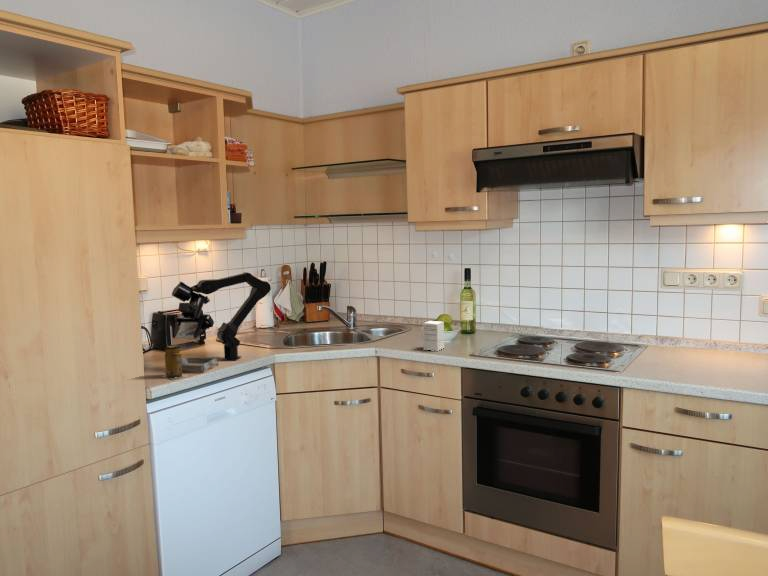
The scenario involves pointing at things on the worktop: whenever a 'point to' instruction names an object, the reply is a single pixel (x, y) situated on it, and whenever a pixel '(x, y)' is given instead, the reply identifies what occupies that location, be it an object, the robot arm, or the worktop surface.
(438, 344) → the supplement box
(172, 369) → the condiment
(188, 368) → the grey square frame
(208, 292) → the robot arm
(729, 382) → the worktop surface
